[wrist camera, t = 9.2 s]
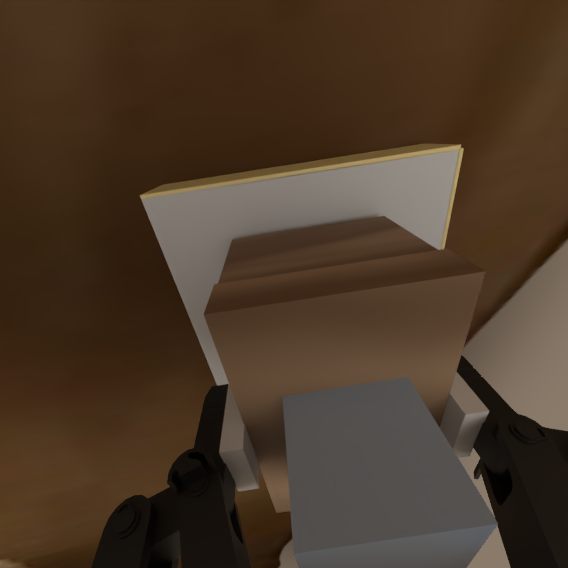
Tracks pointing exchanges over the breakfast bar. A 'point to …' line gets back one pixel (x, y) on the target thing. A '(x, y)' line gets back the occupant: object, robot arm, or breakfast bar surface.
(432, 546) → the blue-grey block
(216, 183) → the dock
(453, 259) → the block
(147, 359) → the breakfast bar surface
